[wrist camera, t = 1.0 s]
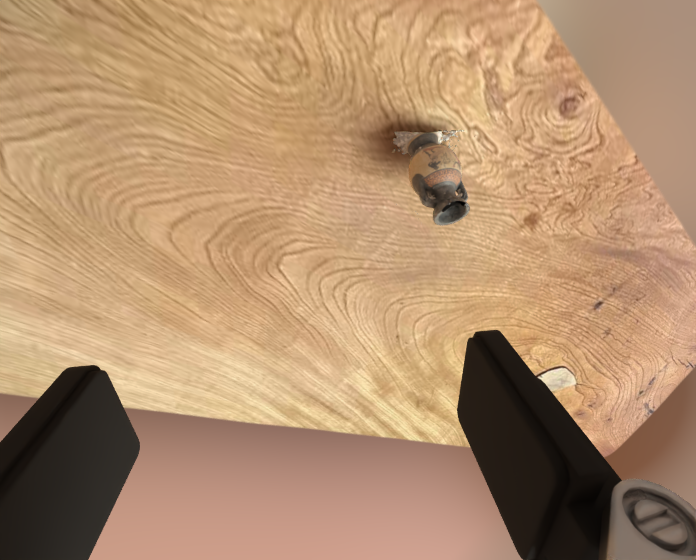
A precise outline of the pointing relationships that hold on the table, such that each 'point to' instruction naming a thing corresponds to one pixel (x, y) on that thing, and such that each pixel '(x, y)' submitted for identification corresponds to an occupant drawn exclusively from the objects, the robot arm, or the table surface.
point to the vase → (435, 174)
